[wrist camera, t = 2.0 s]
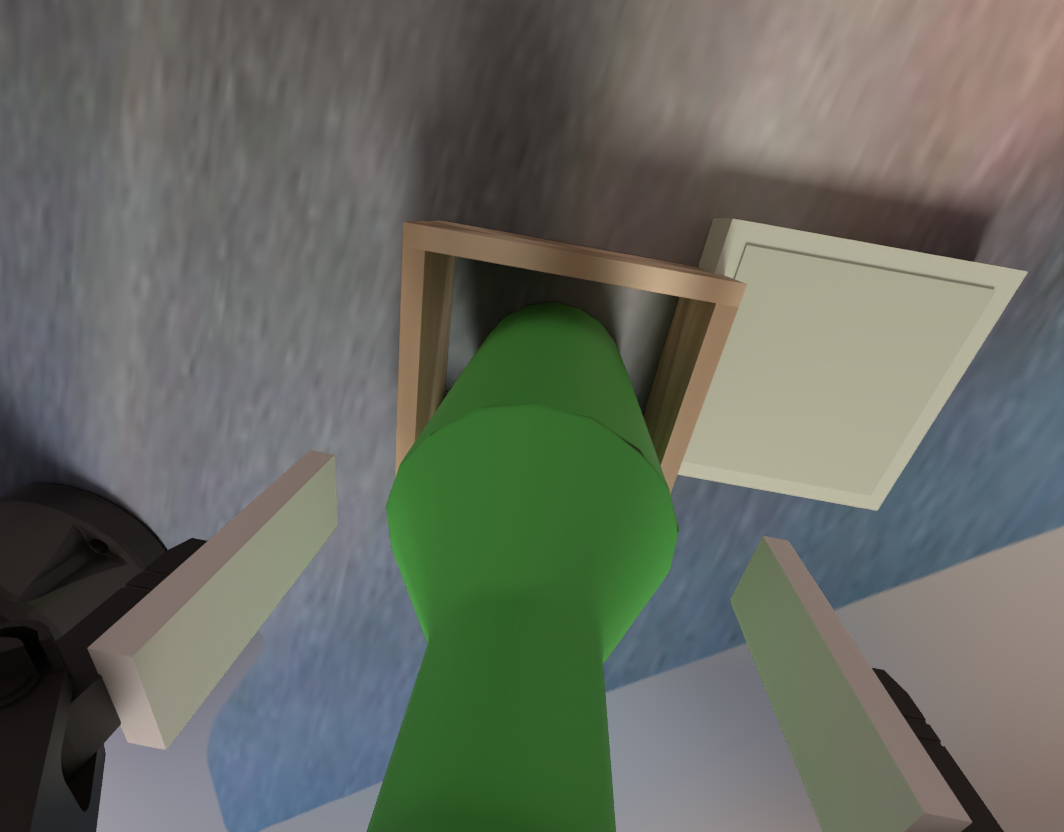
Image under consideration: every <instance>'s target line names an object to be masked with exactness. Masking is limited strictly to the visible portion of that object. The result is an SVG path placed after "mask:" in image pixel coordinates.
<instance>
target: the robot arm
mask: <svg viewBox="0 0 1064 832" xmlns="http://www.w3.org/2000/svg"><path fill="white" fill-rule="evenodd" d="M337 526H338V517H337V493H336V469H335V455H334V454H328V453H323V452H318V451H312V450H310V451H309V452H308V453H306V454H305V455H304V456H303V457H302V458H301V459H300V460H299V461H297V462H296V463H295V464H294V465H293V466H292V467H291V468H290V469H288V470H287V471H286V472H285V473H284V474H283V475H282V476H281V477H279V478H278V479H277V480H276V481H275V482H274V483H273V484H271V485H270V486H269V487H268V488H267V489H266V490H265V491H264V492H262V493H261V494H260V495H259V496H258V497H257V498H256V499H255V500H253V501H252V502H251V503H250V504H249V505H248V506H247V507H246V508H244V509H243V510H242V511H241V512H240V513H239V514H238V515H237V516H235V517H234V518H233V519H232V520H231V521H230V522H229V523H228V524H226V525H225V526H224V527H223V528H222V529H221V530H220V531H219V532H217V533H216V534H215V535H214V536H213V537H212V538H211V539H210V540H208V541H205V540H200V539H195V538H191V539H189V540H187V541H185V542H183V543H181V544H179V545H177V546H175V547H173V548H171V549H169V550H167V551H165V550H164V548H163V547H162V546H161V544H160V543H159V542H158V541H157V539H156V538H155V537H154V536H153V535H152V534H151V533H150V532H149V531H148V530H147V529H146V528H145V527H144V526H143V525H142V524H141V523H139V522H138V521H137V520H136V519H135V518H133V517H132V516H131V515H129V514H128V513H126V512H125V511H123V510H122V509H120V508H119V507H117V506H115V505H114V504H112V503H110V502H108V501H106V500H104V499H102V498H100V497H98V496H96V495H93V494H91V493H88V492H86V491H83V490H80V489H76V488H73V487H69V486H64V485H58V484H46V483H40V484H30V485H26V486H22V487H19V488H17V489H15V490H13V491H11V492H9V493H7V494H5V495H3V496H1V497H0V832H96V827H97V818H98V811H99V803H100V795H101V787H102V779H103V771H104V763H105V755H106V754H105V748H104V742H105V741H106V740H107V739H108V738H109V737H110V736H111V735H112V733H113V732H114V731H115V730H116V729H117V728H118V727H119V726H120V725H121V728H122V730H123V733H124V735H125V737H126V739H127V742H129V743H134V744H139V745H144V746H149V747H154V748H159V749H164V750H167V749H168V747H169V746H170V744H171V743H172V742H173V741H174V739H175V738H176V737H177V735H178V734H179V733H180V731H181V730H182V729H183V728H184V726H185V725H186V724H187V722H188V721H189V720H190V718H191V717H192V716H193V715H194V713H195V712H196V711H197V709H198V708H199V707H200V705H201V704H202V703H203V701H204V700H205V699H206V697H207V696H208V695H209V694H210V692H211V691H212V689H213V688H214V687H215V686H216V684H217V683H218V682H219V680H220V679H221V678H222V677H223V675H224V674H225V672H226V671H227V670H228V669H229V667H230V666H231V665H232V663H233V662H234V661H235V660H236V658H237V657H238V656H239V654H240V653H241V652H242V650H243V649H244V648H245V646H246V645H247V644H248V642H249V641H250V640H251V639H252V637H253V636H254V635H255V633H256V632H257V631H258V629H259V628H260V627H261V626H262V624H263V623H264V622H265V620H266V619H267V618H268V616H269V615H270V614H271V612H272V611H273V610H274V609H275V607H276V606H277V605H278V603H279V602H280V601H281V599H282V598H283V597H284V595H285V594H286V593H287V591H288V590H289V589H290V588H291V586H292V585H293V584H294V582H295V581H296V580H297V578H298V577H299V576H300V574H301V573H302V572H303V571H304V569H305V568H306V567H307V565H308V564H309V563H310V561H311V560H312V559H313V557H314V556H315V555H316V554H317V552H318V551H319V550H320V548H321V547H322V546H323V544H324V543H325V542H326V540H327V539H328V538H329V537H330V535H331V534H332V533H333V531H334V530H335V529H336V527H337ZM730 602H731V604H732V607H733V609H734V612H735V614H736V617H737V619H738V622H739V624H740V627H741V629H742V632H743V634H744V637H745V639H746V642H747V644H748V647H749V649H750V652H751V654H752V657H753V659H754V662H755V664H756V667H757V669H758V672H759V674H760V677H761V679H762V682H763V684H764V687H765V689H766V692H767V694H768V697H769V699H770V702H771V704H772V706H773V709H774V712H775V714H776V717H777V719H778V721H779V724H780V727H781V729H782V731H783V734H784V737H785V739H786V741H787V744H788V746H789V749H790V751H791V754H792V756H793V759H794V761H795V764H796V766H797V769H798V771H799V774H800V776H801V779H802V781H803V784H804V786H805V789H806V791H807V794H808V796H809V799H810V801H811V804H812V806H813V809H814V811H815V814H816V816H817V819H818V821H819V824H820V826H821V829H822V831H823V832H1004V831H1003V830H1002V829H1001V827H1000V825H999V824H998V823H997V821H996V820H995V818H994V817H993V815H992V814H991V813H990V811H989V810H988V809H987V807H986V805H985V804H984V802H983V801H982V800H981V798H980V797H979V795H978V794H977V792H976V791H975V790H974V788H973V787H972V785H971V784H970V782H969V781H968V779H967V778H966V777H965V775H964V774H963V772H962V771H961V770H960V768H959V766H958V765H957V764H956V762H955V761H954V759H953V758H952V756H951V755H950V754H949V752H948V751H947V749H946V748H945V747H943V746H942V745H941V743H940V742H941V741H940V739H939V738H938V736H937V735H936V733H935V732H934V731H933V729H932V728H931V726H930V725H928V724H926V722H925V718H924V716H923V715H922V713H921V712H920V710H919V709H918V707H917V706H916V705H915V703H914V702H913V700H912V699H911V697H910V696H909V695H908V693H907V692H906V691H905V690H904V689H902V687H901V686H900V685H898V684H897V682H896V681H894V679H893V678H891V677H890V676H889V675H888V674H887V673H886V672H885V671H884V670H881V669H876V668H871V666H870V665H869V663H868V662H867V660H866V659H865V657H864V656H863V654H862V653H861V651H860V650H859V648H858V647H857V645H856V643H855V642H854V641H853V639H852V637H851V636H850V634H849V633H848V631H847V630H846V628H845V627H844V625H843V624H842V622H841V621H840V619H839V618H838V616H837V614H836V613H835V611H834V610H833V608H832V607H831V605H830V604H829V602H828V601H827V599H826V598H825V596H824V595H823V593H822V591H821V590H820V588H819V587H818V585H817V584H816V582H815V581H814V579H813V578H812V576H811V575H810V573H809V572H808V570H807V569H806V567H805V565H804V564H803V562H802V561H801V559H800V558H799V556H798V555H797V553H796V552H795V550H794V549H793V547H792V546H791V544H790V543H789V541H787V540H782V539H777V538H772V537H766V536H763V537H762V539H761V541H760V543H759V545H758V547H757V549H756V551H755V552H754V554H753V556H752V558H751V560H750V562H749V564H748V566H747V568H746V570H745V572H744V574H743V576H742V578H741V580H740V582H739V584H738V586H737V588H736V590H735V592H734V594H733V596H732V598H731V600H730Z"/></svg>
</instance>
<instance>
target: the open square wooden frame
mask: <svg viewBox="0 0 1064 832" xmlns="http://www.w3.org/2000/svg"><path fill="white" fill-rule="evenodd" d="M456 256H458V257H464V258H469V259H475V260H480V261H486V262H491V263H497V264H502V265H508V266H513V267H519V268H524V269H530V270H535V271H541V272H546V273H552V274H557V275H563V276H568V277H574V278H579V279H585V280H590V281H596V282H602V283H607V284H613V285H618V286H624V287H629V288H635V289H640V290H646V291H651V292H657V293H662V294H668V295H673V296H679V300H678V303H677V307H676V310H675V313H674V316H673V320H672V323H671V326H670V330H669V333H668V336H667V339H666V343H665V346H664V349H663V353H662V356H661V359H660V362H659V366H658V369H657V372H656V376H655V379H654V382H653V385H652V389H651V392H650V395H649V399H648V402H647V405H646V408H645V412H644V415H643V418H644V420H645V423H646V426H647V429H648V432H649V435H650V437H651V440H652V443H653V446H654V449H655V451H656V454H657V457H658V460H659V463H660V466H661V468H662V471H663V474H664V477H665V480H666V482H667V484H668V487H669V490H670V494H671V491H672V488H673V485H674V483H675V480H676V477H677V475H678V472H679V469H680V466H681V464H682V461H683V458H684V455H685V453H686V450H687V447H688V445H689V442H690V439H691V436H692V434H693V431H694V428H695V425H696V423H697V420H698V417H699V414H700V412H701V409H702V406H703V404H704V401H705V398H706V395H707V393H708V390H709V387H710V384H711V382H712V379H713V376H714V374H715V371H716V368H717V365H718V363H719V360H720V357H721V354H722V352H723V349H724V346H725V344H726V341H727V338H728V335H729V333H730V330H731V327H732V324H733V322H734V319H735V316H736V314H737V311H738V308H739V305H740V303H741V300H742V297H743V294H744V292H745V289H746V286H747V284H746V283H743V282H740V281H738V280H735V279H733V278H730V277H727V276H725V275H720V274H714V273H712V272H709V271H707V270H704V269H702V268H699V267H695V266H690V265H684V264H679V263H673V262H668V261H662V260H657V259H651V258H645V257H640V256H634V255H629V254H623V253H618V252H612V251H607V250H601V249H596V248H590V247H585V246H579V245H574V244H568V243H563V242H557V241H552V240H546V239H541V238H535V237H530V236H524V235H518V234H513V233H507V232H502V231H496V230H491V229H485V228H480V227H474V226H469V225H463V224H458V223H452V222H447V221H441V220H439V221H411V222H403V246H402V278H401V310H400V342H399V374H398V406H397V438H396V470H395V478H396V474H397V471H398V468H399V465H400V463H401V462H402V460H403V459H404V457H405V456H406V454H407V453H408V451H409V450H410V448H411V447H412V446H413V444H414V443H415V441H416V440H417V438H418V437H419V435H420V434H421V432H422V431H423V429H424V428H425V426H426V425H427V423H428V422H429V421H430V419H431V418H432V416H433V415H434V413H435V412H436V410H437V409H438V407H439V406H440V404H441V403H442V401H443V400H444V394H445V382H446V370H447V358H448V345H449V333H450V321H451V309H452V297H453V284H454V272H455V260H456Z"/></svg>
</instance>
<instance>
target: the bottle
mask: <svg viewBox="0 0 1064 832" xmlns="http://www.w3.org/2000/svg"><path fill="white" fill-rule="evenodd" d="M386 509H387V517H388V525H389V533H390V540H391V548H392V551H393V554H394V556H395V559H396V562H397V564H398V567H399V570H400V572H401V575H402V578H403V580H404V583H405V585H406V588H407V591H408V593H409V596H410V599H411V601H412V604H413V607H414V609H415V612H416V614H417V617H418V620H419V622H420V625H421V628H422V630H423V633H424V636H425V638H426V641H427V644H428V646H427V649H426V652H425V655H424V658H423V661H422V664H421V667H420V670H419V673H418V676H417V679H416V682H415V685H414V688H413V691H412V694H411V698H410V701H409V704H408V707H407V710H406V713H405V716H404V719H403V722H402V725H401V728H400V731H399V734H398V737H397V740H396V743H395V747H394V750H393V753H392V756H391V759H390V762H389V765H388V768H387V771H386V774H385V777H384V780H383V783H382V786H381V789H380V792H379V795H378V799H377V802H376V805H375V808H374V811H373V814H372V817H371V820H370V823H369V826H368V829H367V832H616V826H615V812H614V799H613V786H612V773H611V761H610V747H609V734H608V721H607V709H606V695H605V682H604V669H603V664H604V662H605V661H606V660H607V658H608V657H609V655H610V654H611V653H612V651H613V650H614V648H615V647H616V646H617V644H618V643H619V641H620V640H621V639H622V637H623V636H624V634H625V633H626V632H627V630H628V629H629V627H630V626H631V625H632V623H633V622H634V620H635V619H636V618H637V616H638V615H639V613H640V612H641V611H642V609H643V608H644V607H645V605H646V604H647V602H648V601H649V600H650V598H651V597H652V595H653V594H654V593H655V591H656V590H657V588H658V587H659V586H660V584H661V583H662V581H663V580H664V579H665V577H666V576H667V574H668V573H669V571H670V567H671V562H672V558H673V554H674V549H675V545H676V541H677V536H678V532H679V527H678V523H677V519H676V516H675V512H674V508H673V503H672V499H671V495H670V490H669V487H668V484H667V482H666V480H665V477H664V474H663V471H662V468H661V466H660V463H659V460H658V457H657V454H656V451H655V449H654V446H653V443H652V440H651V437H650V435H649V432H648V429H647V426H646V423H645V420H644V418H643V415H642V412H641V409H640V406H639V404H638V401H637V398H636V395H635V392H634V389H633V387H632V384H631V381H630V379H629V376H628V374H627V371H626V368H625V366H624V363H623V361H622V358H621V356H620V353H619V350H618V348H617V345H616V343H615V342H614V340H613V339H612V338H611V336H610V335H609V333H608V332H607V330H606V329H605V328H604V326H603V325H602V323H600V322H599V321H597V320H596V319H594V318H593V317H591V316H590V315H588V314H587V313H585V312H584V311H582V310H581V309H579V308H575V307H571V306H567V305H562V304H558V303H554V302H552V303H544V304H536V305H528V306H525V307H523V308H521V309H519V310H518V311H516V312H514V313H512V314H510V315H508V316H506V317H504V318H503V319H502V320H501V322H500V323H499V324H498V325H497V326H496V327H495V328H494V329H493V331H492V332H491V333H490V334H489V335H488V336H487V338H486V339H485V340H484V342H483V343H482V345H481V346H480V348H479V349H478V351H477V352H476V353H475V355H474V356H473V358H472V359H471V361H470V362H469V363H468V365H467V366H466V368H465V369H464V371H463V372H462V374H461V375H460V376H459V378H458V379H457V381H456V382H455V384H454V385H453V387H452V388H451V390H450V391H449V393H448V394H447V396H446V397H445V398H444V400H443V401H442V403H441V404H440V406H439V407H438V409H437V410H436V412H435V413H434V415H433V416H432V418H431V419H430V421H429V422H428V423H427V425H426V426H425V428H424V429H423V431H422V432H421V434H420V435H419V437H418V438H417V440H416V441H415V443H414V444H413V446H412V447H411V448H410V450H409V451H408V453H407V454H406V456H405V457H404V459H403V460H402V462H401V463H400V465H399V468H398V471H397V474H396V478H395V481H394V484H393V487H392V490H391V493H390V496H389V499H388V502H387V505H386Z"/></svg>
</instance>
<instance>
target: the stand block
mask: <svg viewBox="0 0 1064 832" xmlns="http://www.w3.org/2000/svg"><path fill="white" fill-rule="evenodd" d="M698 267H699V268H702V269H704V270H707V271H709V272H712V273H714V274H720V275H725V276H727V277H730V278H733V279H735V280H738V281H740V282H743V283H746V284H747V286H746V289H745V292H744V294H743V297H742V300H741V303H740V305H739V308H738V311H737V314H736V316H735V319H734V322H733V324H732V327H731V330H730V333H729V335H728V338H727V341H726V344H725V346H724V349H723V352H722V354H721V357H720V360H719V363H718V365H717V368H716V371H715V374H714V376H713V379H712V382H711V384H710V387H709V390H708V393H707V395H706V398H705V401H704V404H703V406H702V409H701V412H700V414H699V417H698V420H697V423H696V425H695V428H694V431H693V434H692V436H691V439H690V442H689V445H688V447H687V450H686V453H685V455H684V458H683V461H682V464H681V466H680V469H679V472H678V475H684V476H689V477H695V478H700V479H706V480H711V481H717V482H722V483H728V484H733V485H739V486H744V487H750V488H755V489H761V490H766V491H772V492H777V493H783V494H788V495H794V496H799V497H805V498H810V499H816V500H821V501H827V502H832V503H838V504H843V505H849V506H854V507H860V508H865V509H871V510H876V511H877V510H878V509H879V507H880V506H881V504H882V502H883V501H884V499H885V498H886V496H887V494H888V493H889V491H890V490H891V488H892V487H893V485H894V483H895V482H896V480H897V479H898V477H899V475H900V474H901V472H902V471H903V469H904V468H905V466H906V464H907V463H908V461H909V460H910V458H911V456H912V455H913V453H914V452H915V450H916V448H917V447H918V445H919V444H920V442H921V441H922V439H923V437H924V436H925V434H926V433H927V431H928V429H929V428H930V426H931V425H932V423H933V422H934V420H935V418H936V417H937V415H938V414H939V412H940V410H941V409H942V407H943V406H944V404H945V403H946V401H947V399H948V398H949V396H950V395H951V393H952V391H953V390H954V388H955V387H956V385H957V384H958V382H959V380H960V379H961V377H962V376H963V374H964V372H965V371H966V369H967V368H968V366H969V364H970V363H971V361H972V360H973V358H974V357H975V355H976V353H977V352H978V350H979V349H980V347H981V345H982V344H983V342H984V341H985V339H986V338H987V336H988V334H989V333H990V331H991V330H992V328H993V326H994V325H995V323H996V322H997V320H998V319H999V317H1000V315H1001V314H1002V312H1003V311H1004V309H1005V307H1006V306H1007V304H1008V303H1009V301H1010V299H1011V298H1012V296H1013V295H1014V293H1015V292H1016V290H1017V288H1018V287H1019V285H1020V284H1021V282H1022V280H1023V279H1024V277H1025V276H1026V274H1027V273H1028V272H1026V271H1021V270H1015V269H1010V268H1004V267H999V266H993V265H988V264H982V263H976V262H971V261H965V260H960V259H954V258H949V257H943V256H938V255H932V254H927V253H921V252H916V251H910V250H905V249H899V248H894V247H888V246H883V245H877V244H871V243H866V242H860V241H855V240H849V239H844V238H838V237H833V236H827V235H822V234H816V233H811V232H805V231H800V230H794V229H789V228H783V227H778V226H772V225H767V224H761V223H755V222H750V221H744V220H739V219H733V218H713V221H712V224H711V227H710V230H709V233H708V236H707V240H706V243H705V246H704V249H703V252H702V256H701V259H700V262H699V265H698Z"/></svg>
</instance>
